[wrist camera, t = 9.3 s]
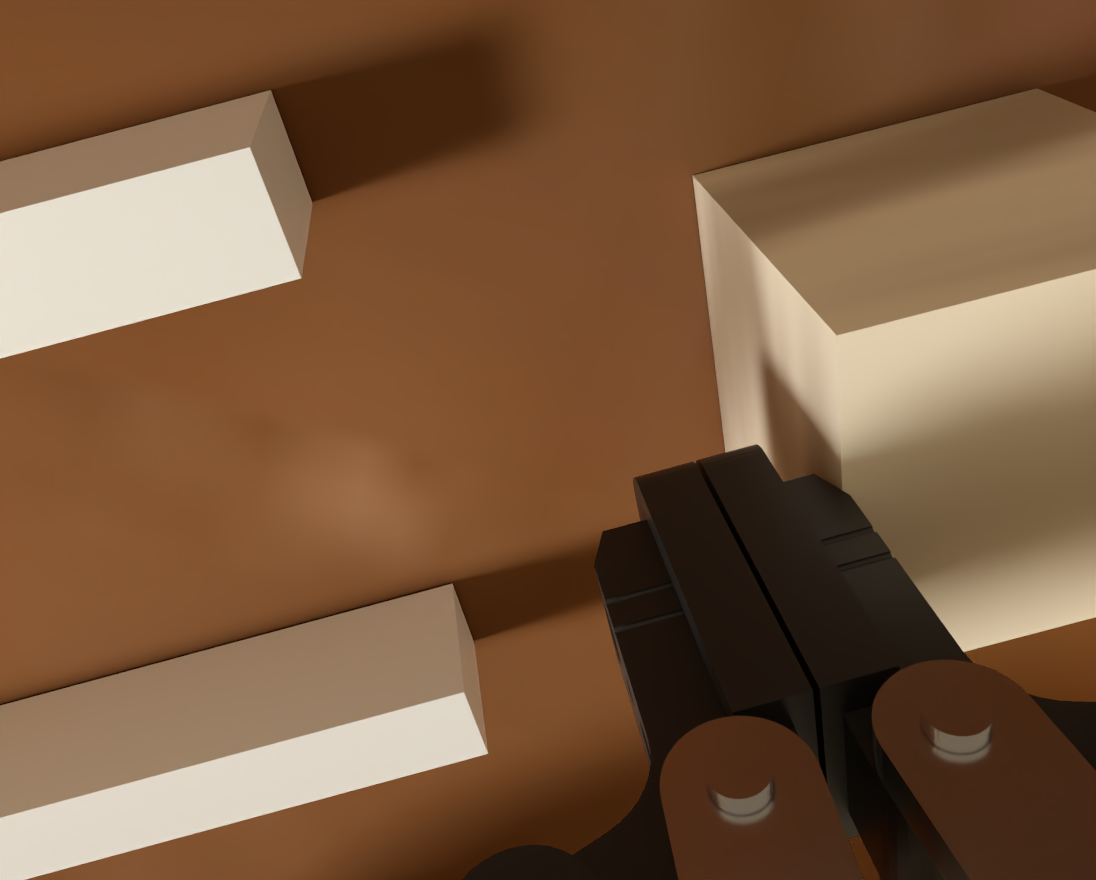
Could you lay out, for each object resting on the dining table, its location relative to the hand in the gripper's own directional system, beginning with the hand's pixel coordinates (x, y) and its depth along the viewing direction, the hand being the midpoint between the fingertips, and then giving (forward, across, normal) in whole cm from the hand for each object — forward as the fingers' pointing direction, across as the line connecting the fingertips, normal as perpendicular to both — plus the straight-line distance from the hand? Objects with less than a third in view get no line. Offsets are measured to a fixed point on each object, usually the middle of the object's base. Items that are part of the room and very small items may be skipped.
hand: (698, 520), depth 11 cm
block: (+4, -4, 0) cm, 6 cm away
